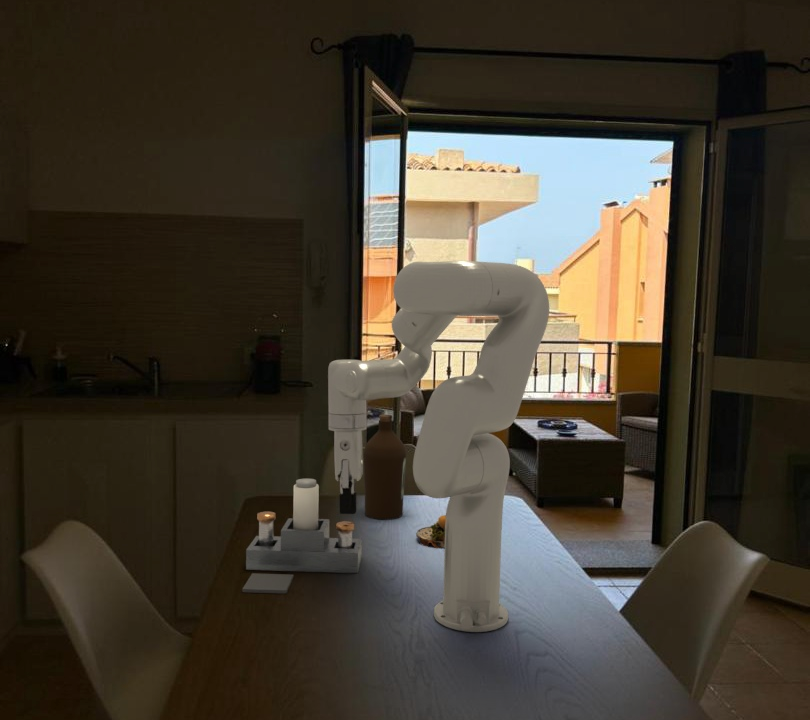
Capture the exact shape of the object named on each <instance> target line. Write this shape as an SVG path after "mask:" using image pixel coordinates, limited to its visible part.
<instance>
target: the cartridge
mask: <svg viewBox="0 0 810 720" xmlns="http://www.w3.org/2000/svg"><path fill="white" fill-rule="evenodd" d="M319 489H320V486H319V484H318V483H317V480H316V479H314V478H299V479H296V480H295V484H294V485H293V504H292V505H293V507H292V509H293V514H292V518H293V529H299V530H318V519H319V498H320V497H319V496H320V495H319V492H320V491H319Z"/></svg>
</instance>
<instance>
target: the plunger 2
mask: <svg viewBox="0 0 810 720" xmlns="http://www.w3.org/2000/svg"><path fill="white" fill-rule="evenodd" d="M335 530H336V531H337V538H338V548H342V549H352V539H353V531H354V530H355V522H353V521H347V520H344V521H339V522H337V523H336V529H335Z"/></svg>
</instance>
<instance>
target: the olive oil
mask: <svg viewBox="0 0 810 720" xmlns="http://www.w3.org/2000/svg"><path fill="white" fill-rule="evenodd" d="M392 419H393V415H392V414H387V413H386V414H384V413H383V414H379V420H378V430H377V432H376V433H374V434H373V436H372V437H371V438H370V439H369V440H368V441H367V442H366V444H365V446H364V450H363V476H364V477H363V478H364V479H363V480H364V481H363V482H364V514H365V516H367V517H368V518H370V519H374V520H375V519H376V520H393V519H398V518H400V517H402V516H403V513H404V510H403V509H404V495H405V492H404V491H405V478H406V475H405V474H406V465H407V464H406V463H407V462H406V461H407V451H406V446H405V445H404V443H403V441H402V440H401V439H400V438H399V437H398V435H397V434H396V433H395V432H394V430H393V420H392Z"/></svg>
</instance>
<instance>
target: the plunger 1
mask: <svg viewBox="0 0 810 720" xmlns="http://www.w3.org/2000/svg"><path fill="white" fill-rule="evenodd" d="M256 515H257V517H256V519H257V521H258V536H259V546H273V536H274V521H275V520H276V512H273V511H260V512H257V514H256Z"/></svg>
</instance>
